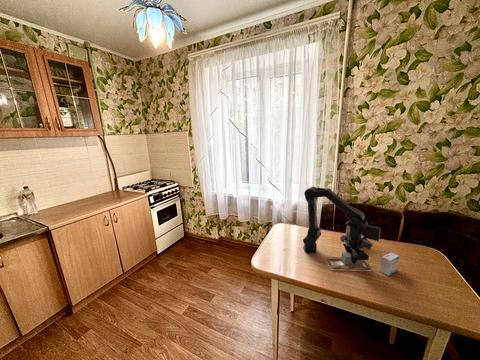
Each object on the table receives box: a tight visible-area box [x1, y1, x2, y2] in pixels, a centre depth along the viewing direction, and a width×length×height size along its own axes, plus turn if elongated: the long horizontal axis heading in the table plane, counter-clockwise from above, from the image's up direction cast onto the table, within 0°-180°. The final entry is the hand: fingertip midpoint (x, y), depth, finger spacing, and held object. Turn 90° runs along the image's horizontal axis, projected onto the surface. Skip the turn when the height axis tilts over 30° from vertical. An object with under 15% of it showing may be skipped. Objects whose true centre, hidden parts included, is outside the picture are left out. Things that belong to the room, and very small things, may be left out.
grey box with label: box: [341, 251, 363, 266], centre depth 105 cm, size 9×4×5 cm, turn 86°
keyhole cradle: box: [324, 256, 373, 272], centre depth 106 cm, size 20×9×2 cm, turn 85°
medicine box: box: [379, 252, 401, 277], centre depth 100 cm, size 8×4×9 cm, turn 117°
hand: (351, 260), depth 105 cm, fingers closed on grey box with label, 4 cm apart
